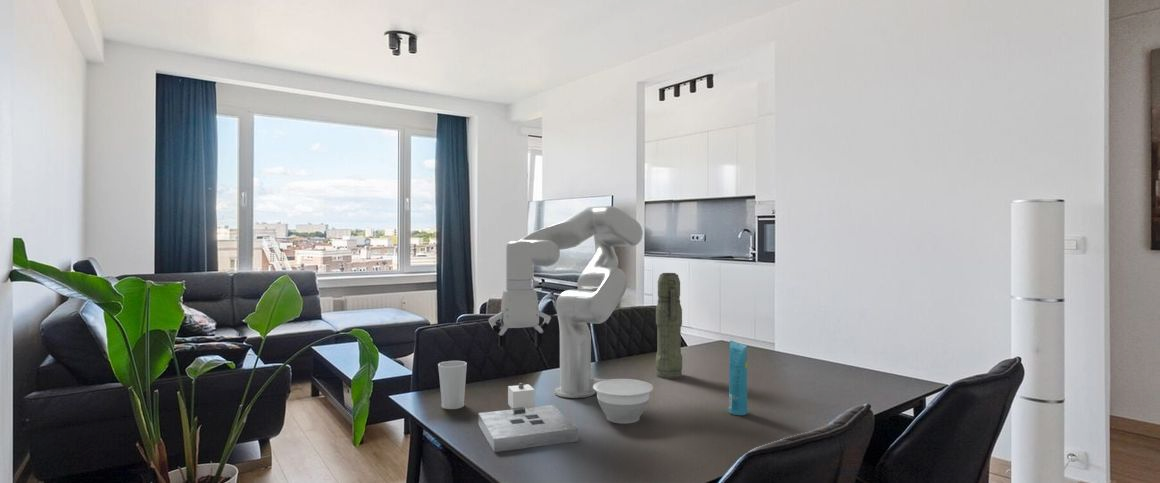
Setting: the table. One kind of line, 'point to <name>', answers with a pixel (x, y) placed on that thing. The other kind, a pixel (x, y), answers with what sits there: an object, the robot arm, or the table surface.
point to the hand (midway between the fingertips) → (520, 348)
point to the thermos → (669, 327)
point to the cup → (452, 383)
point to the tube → (738, 379)
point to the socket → (526, 428)
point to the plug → (521, 396)
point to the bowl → (623, 399)
